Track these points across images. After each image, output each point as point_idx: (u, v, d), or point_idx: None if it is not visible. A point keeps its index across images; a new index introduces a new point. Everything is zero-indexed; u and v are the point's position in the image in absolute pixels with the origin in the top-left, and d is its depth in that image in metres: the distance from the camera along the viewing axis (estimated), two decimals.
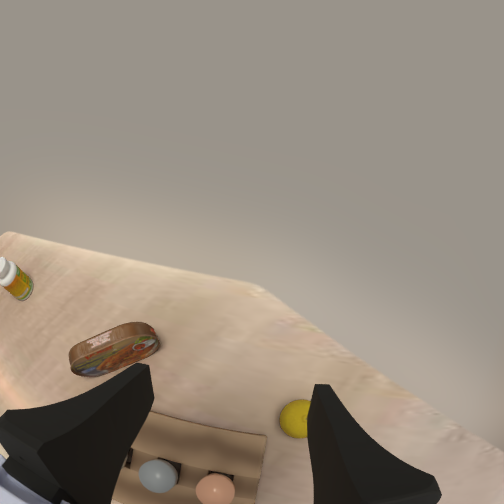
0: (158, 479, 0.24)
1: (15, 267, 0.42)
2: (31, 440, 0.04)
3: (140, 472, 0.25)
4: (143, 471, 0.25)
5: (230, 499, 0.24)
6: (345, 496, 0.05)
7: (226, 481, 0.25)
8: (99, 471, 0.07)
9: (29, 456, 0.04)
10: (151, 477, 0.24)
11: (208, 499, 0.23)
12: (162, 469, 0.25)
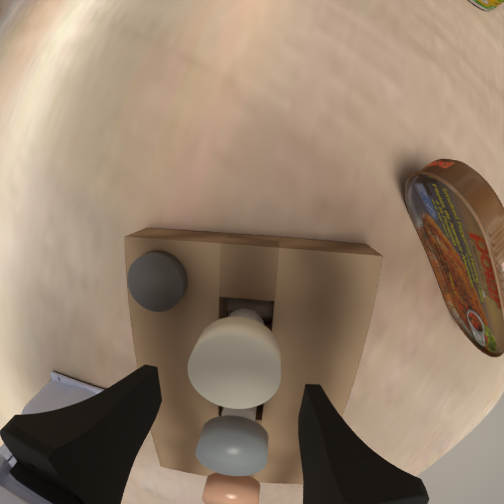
0: (227, 461, 0.14)
1: None
2: (42, 446, 0.04)
3: (230, 441, 0.14)
4: (234, 444, 0.14)
5: None
6: (330, 497, 0.05)
7: None
8: (109, 475, 0.06)
9: (39, 462, 0.04)
10: (225, 454, 0.14)
11: (214, 498, 0.16)
12: (252, 466, 0.14)
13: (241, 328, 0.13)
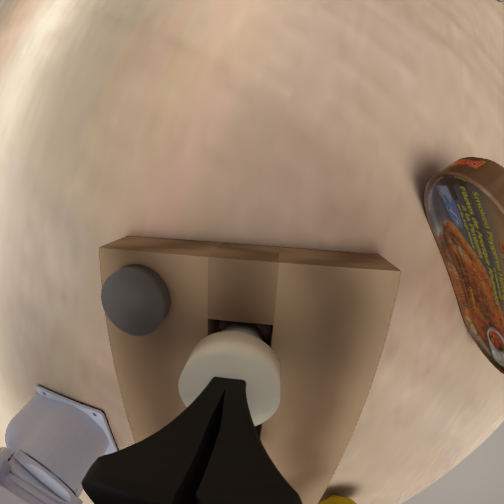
0: None
1: None
2: (155, 493, 0.04)
3: None
4: None
5: None
6: None
7: None
8: None
9: None
10: None
11: None
12: None
13: (236, 345, 0.12)
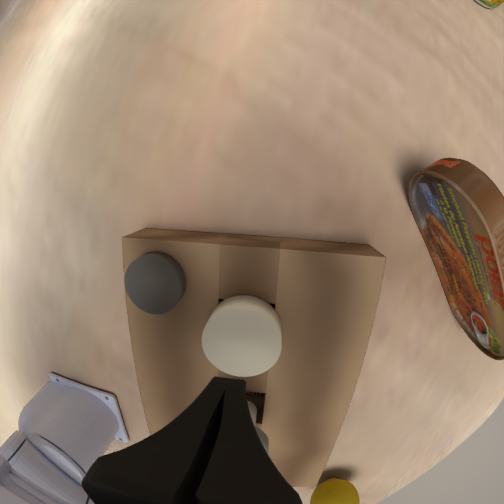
0: None
1: None
2: (155, 493, 0.04)
3: None
4: None
5: None
6: None
7: None
8: None
9: None
10: None
11: None
12: None
13: (248, 303, 0.16)
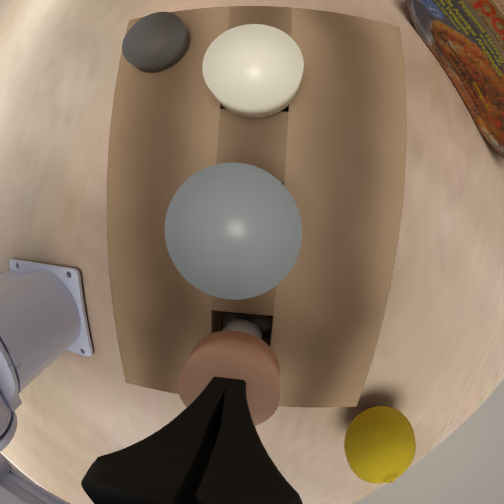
0: (224, 243, 0.09)
1: None
2: (155, 493, 0.04)
3: (232, 169, 0.09)
4: (240, 181, 0.09)
5: None
6: None
7: (267, 415, 0.11)
8: None
9: None
10: (222, 216, 0.09)
11: (199, 382, 0.11)
12: (272, 254, 0.09)
13: None
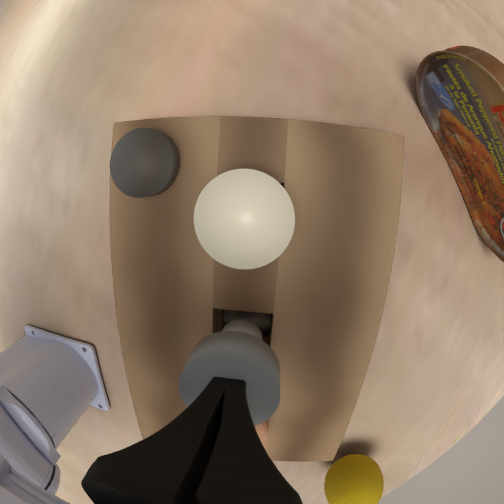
0: None
1: None
2: (155, 493, 0.04)
3: (227, 359, 0.11)
4: (234, 367, 0.11)
5: None
6: None
7: None
8: None
9: None
10: None
11: None
12: (258, 408, 0.11)
13: None
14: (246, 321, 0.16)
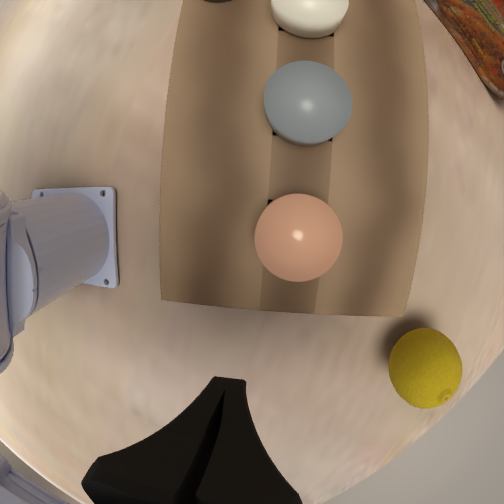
0: (304, 104, 0.13)
1: None
2: (155, 493, 0.04)
3: (308, 64, 0.12)
4: (314, 70, 0.12)
5: (283, 274, 0.15)
6: None
7: (331, 262, 0.14)
8: None
9: None
10: (303, 89, 0.12)
11: (275, 225, 0.14)
12: (335, 113, 0.13)
13: None
14: None
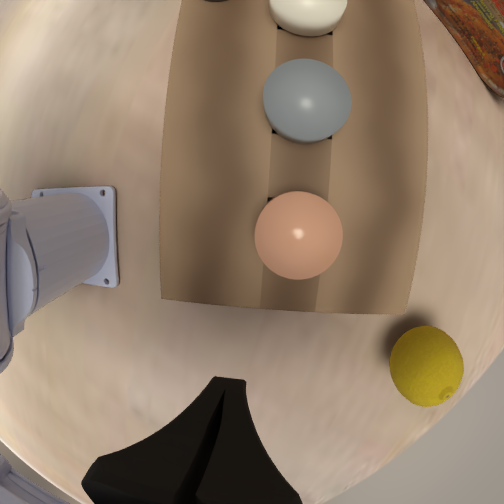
0: (303, 102, 0.13)
1: None
2: (155, 493, 0.04)
3: (307, 62, 0.12)
4: (313, 68, 0.12)
5: (283, 272, 0.15)
6: None
7: (331, 259, 0.14)
8: None
9: None
10: (302, 86, 0.12)
11: (275, 223, 0.14)
12: (334, 110, 0.13)
13: None
14: None
